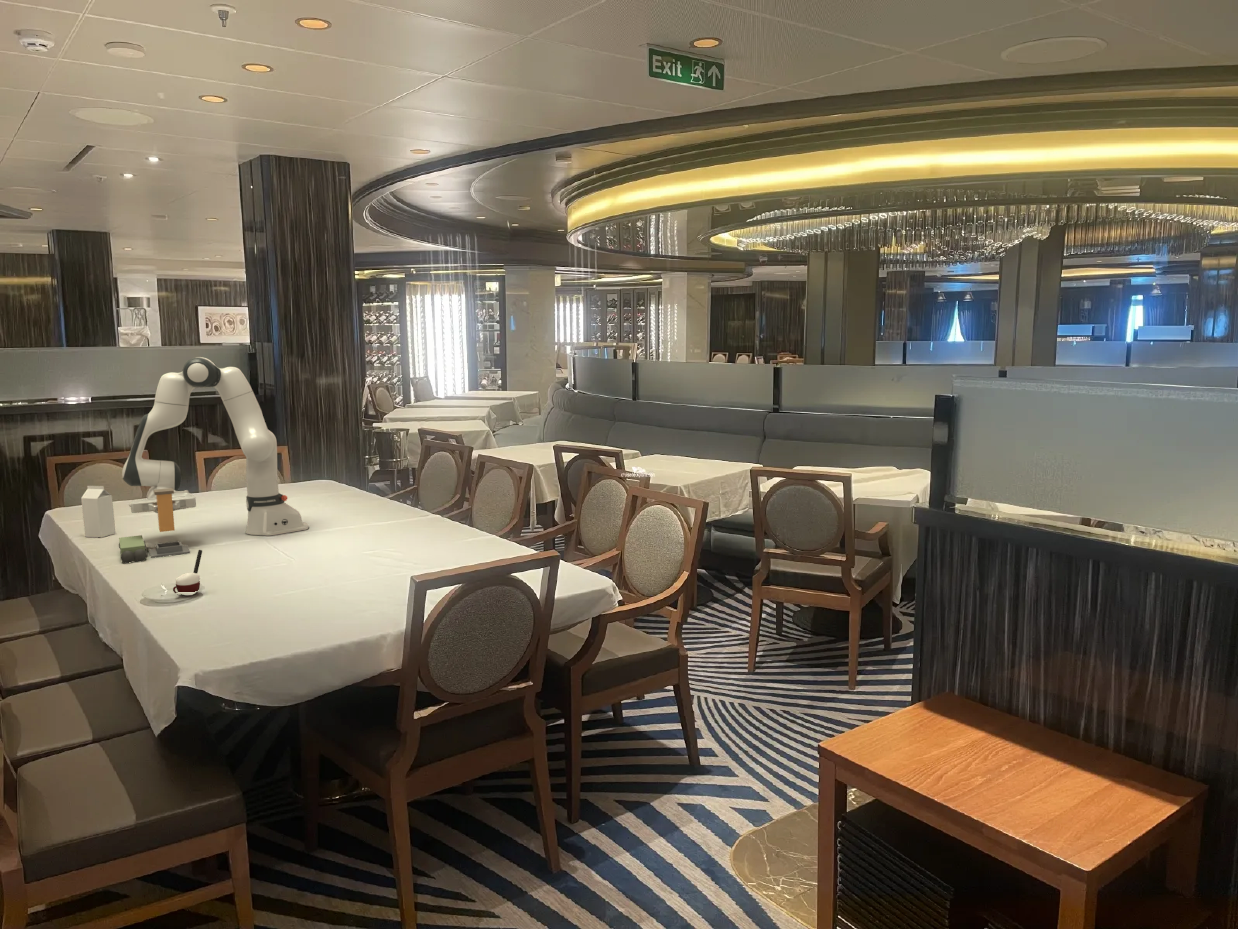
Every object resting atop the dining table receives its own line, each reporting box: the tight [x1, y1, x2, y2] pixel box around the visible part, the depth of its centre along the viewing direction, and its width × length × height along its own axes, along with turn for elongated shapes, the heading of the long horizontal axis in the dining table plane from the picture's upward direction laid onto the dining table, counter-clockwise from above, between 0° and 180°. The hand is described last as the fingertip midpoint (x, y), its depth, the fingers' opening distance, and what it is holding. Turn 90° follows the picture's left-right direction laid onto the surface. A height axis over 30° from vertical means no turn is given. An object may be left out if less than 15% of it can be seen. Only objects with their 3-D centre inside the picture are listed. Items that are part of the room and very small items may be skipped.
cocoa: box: [172, 549, 203, 594], centre depth 249 cm, size 10×6×12 cm, turn 128°
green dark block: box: [118, 534, 148, 564], centre depth 294 cm, size 8×20×5 cm, turn 32°
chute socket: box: [148, 540, 191, 559], centre depth 299 cm, size 12×12×3 cm
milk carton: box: [80, 485, 117, 538], centre depth 323 cm, size 7×7×19 cm
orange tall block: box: [153, 488, 176, 533], centre depth 297 cm, size 6×6×14 cm
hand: (165, 507), depth 296 cm, fingers closed on orange tall block, 4 cm apart
